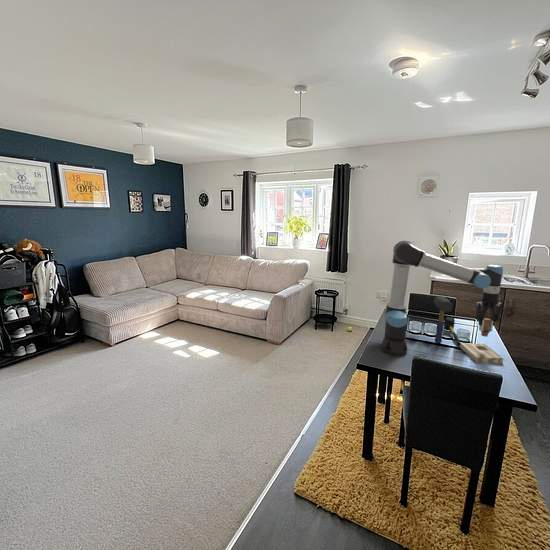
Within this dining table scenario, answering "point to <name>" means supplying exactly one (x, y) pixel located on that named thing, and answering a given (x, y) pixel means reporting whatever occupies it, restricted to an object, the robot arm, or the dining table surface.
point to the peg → (486, 327)
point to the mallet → (451, 328)
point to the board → (481, 353)
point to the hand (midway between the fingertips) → (485, 330)
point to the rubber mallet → (441, 315)
